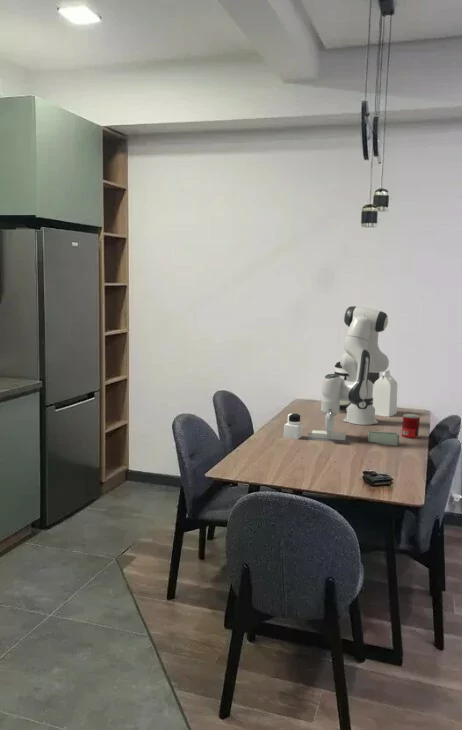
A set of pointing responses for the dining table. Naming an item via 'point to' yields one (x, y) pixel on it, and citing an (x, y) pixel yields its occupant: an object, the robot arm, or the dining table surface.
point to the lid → (324, 435)
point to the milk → (385, 395)
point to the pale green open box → (383, 437)
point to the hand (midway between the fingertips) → (328, 435)
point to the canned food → (410, 425)
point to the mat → (328, 439)
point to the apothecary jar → (343, 406)
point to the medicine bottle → (293, 427)
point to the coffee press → (341, 372)
